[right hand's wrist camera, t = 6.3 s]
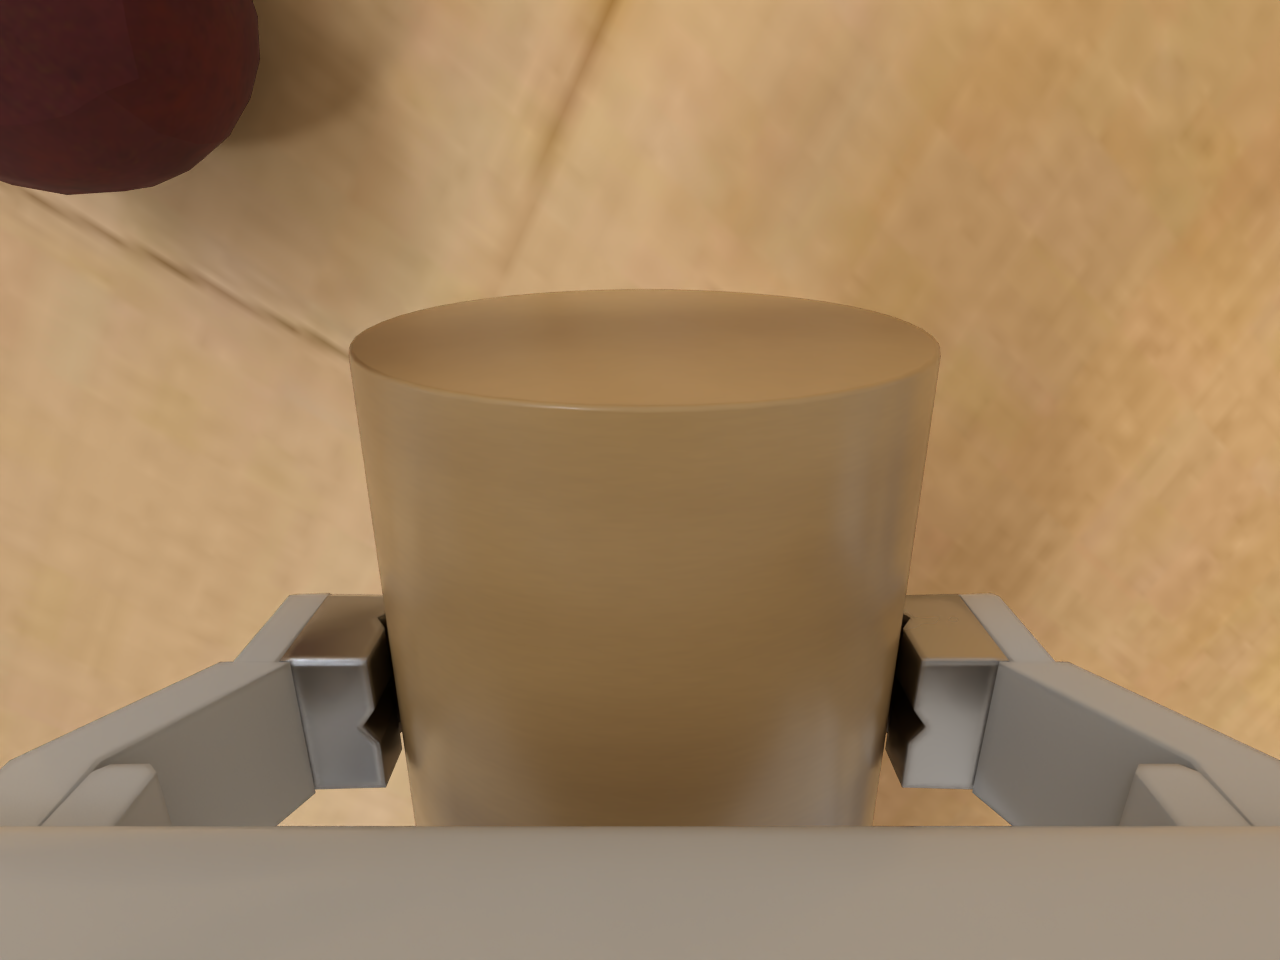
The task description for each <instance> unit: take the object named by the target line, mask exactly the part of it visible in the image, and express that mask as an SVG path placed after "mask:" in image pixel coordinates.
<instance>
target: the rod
mask: <svg viewBox="0 0 1280 960" xmlns="http://www.w3.org/2000/svg"><path fill="white" fill-rule="evenodd" d="M940 357H941V355H940V346H939V344H938V342H937V341H936V340H935V338H934V337H933V336H932V335H930V334H929V333H927V332H926V331H924V330H923V329H921V328H919V327H917V326H915V325H912V324H910V323H908V322H906V321H903V320H900V319H897V318H894V317H892V316H888V315H885V314H881V313H877V312H874V311H870V310H865V309H861V308H856V307H852V306H847V305H841V304H835V303H829V302H823V301H816V300H809V299H802V298H793V297H784V296H775V295H764V294H753V293H738V292H723V291H702V290H662V289H627V290H587V291H566V292H550V293H536V294H525V295H513V296H504V297H496V298H487V299H480V300H473V301H466V302H459V303H454V304H448V305H442V306H437V307H433V308H428V309H423V310H419V311H415V312H411V313H408V314H404V315H400V316H397V317H395V318H392V319H389V320H386V321H383V322H381V323H379V324H376V325H374V326H372V327H370V328H368V329H366V330H365V331H363V332H362V333H360V334H359V335H357V336H356V337H355V339H354V340H353V341H352V343H351V344H350V347H349V362H350V369H351V376H352V383H353V390H354V397H355V404H356V411H357V418H358V425H359V432H360V439H361V446H362V453H363V460H364V467H365V474H366V481H367V488H368V495H369V502H370V509H371V516H372V523H373V530H374V537H375V544H376V551H377V558H378V565H379V572H380V579H381V586H382V593H383V600H384V607H385V614H386V621H387V628H388V635H389V642H390V649H391V656H392V663H393V670H394V677H395V684H396V691H397V698H398V705H399V712H400V719H401V726H402V733H403V740H404V747H405V754H406V762H407V769H408V776H409V783H410V790H411V797H412V804H413V811H414V818H415V825H416V826H872V824H873V817H874V811H875V804H876V797H877V790H878V783H879V776H880V769H881V762H882V756H883V749H884V742H885V735H886V728H887V721H888V714H889V707H890V701H891V694H892V687H893V680H894V673H895V666H896V659H897V652H898V646H899V639H900V632H901V625H902V618H903V611H904V604H905V597H906V591H907V584H908V577H909V570H910V563H911V556H912V549H913V543H914V536H915V529H916V522H917V515H918V508H919V501H920V494H921V488H922V481H923V474H924V467H925V460H926V453H927V446H928V439H929V433H930V426H931V419H932V412H933V405H934V398H935V391H936V384H937V378H938V371H939V364H940Z"/></svg>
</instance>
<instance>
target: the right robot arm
mask: <svg viewBox="0 0 1280 960" xmlns="http://www.w3.org/2000/svg"><path fill="white" fill-rule="evenodd" d="M401 732H402V726H401V719H400V712H399V705H398V698H397V691H396V684H395V677H394V670H393V663H392V656H391V649H390V642H389V635H388V628H387V621H386V614H385V607H384V600H383V595H363V594H333V595H332V594H330V593H317V594H295V595H289V596H288V597H287V598H286V600H285V601H284V602H283V603H282V604H281V606H280V607H279V608H278V609H277V610H276V611H275V613H274V614H273V615H272V616H271V617H270V619H269V620H268V621H267V622H266V623H265V624H264V626H263V627H262V628H261V629H260V630H259V632H258V633H257V634H256V635H255V636H254V637H253V639H252V640H251V641H250V642H249V643H248V645H247V646H246V647H245V648H244V649H243V651H242V652H241V653H240V654H239V655H238V656H237V658H236V659H235V660H234V661H233V662H219V663H217V664H215V665H213V666H211V667H209V668H206V669H204V670H202V671H200V672H198V673H196V674H194V675H191V676H189V677H187V678H185V679H183V680H181V681H179V682H176V683H174V684H172V685H170V686H168V687H166V688H164V689H162V690H159V691H157V692H155V693H153V694H151V695H149V696H147V697H144V698H142V699H140V700H138V701H136V702H134V703H132V704H129V705H127V706H125V707H123V708H121V709H119V710H117V711H115V712H112V713H110V714H108V715H106V716H104V717H102V718H100V719H97V720H95V721H93V722H91V723H89V724H87V725H85V726H83V727H80V728H78V729H76V730H74V731H72V732H70V733H68V734H65V735H63V736H61V737H59V738H57V739H55V740H53V741H50V742H48V743H46V744H44V745H42V746H40V747H38V748H36V749H33V750H31V751H29V752H27V753H25V754H23V755H21V756H18V757H16V758H14V759H12V760H10V761H9V762H8V763H6V764H5V765H4V766H3V767H2V768H1V769H0V960H1280V760H1278V759H1276V758H1274V757H1272V756H1269V755H1267V754H1265V753H1263V752H1261V751H1259V750H1256V749H1254V748H1252V747H1250V746H1248V745H1246V744H1244V743H1241V742H1239V741H1237V740H1235V739H1233V738H1231V737H1229V736H1226V735H1224V734H1222V733H1220V732H1218V731H1216V730H1213V729H1211V728H1209V727H1207V726H1205V725H1203V724H1201V723H1198V722H1196V721H1194V720H1192V719H1190V718H1188V717H1186V716H1183V715H1181V714H1179V713H1177V712H1175V711H1173V710H1170V709H1168V708H1166V707H1164V706H1162V705H1160V704H1158V703H1155V702H1153V701H1151V700H1149V699H1147V698H1145V697H1143V696H1140V695H1138V694H1136V693H1134V692H1132V691H1130V690H1127V689H1125V688H1123V687H1121V686H1119V685H1117V684H1115V683H1112V682H1110V681H1108V680H1106V679H1104V678H1102V677H1100V676H1097V675H1095V674H1093V673H1091V672H1089V671H1087V670H1084V669H1082V668H1080V667H1078V666H1076V665H1074V664H1072V663H1069V662H1055V661H1054V659H1053V658H1052V657H1051V656H1050V655H1049V654H1048V652H1047V651H1046V650H1045V649H1044V648H1043V647H1042V646H1041V644H1040V643H1039V642H1038V641H1037V640H1036V639H1035V637H1034V636H1033V635H1032V634H1031V633H1030V632H1029V630H1028V629H1027V628H1026V627H1025V626H1024V625H1023V623H1022V622H1021V621H1020V620H1019V619H1018V618H1017V617H1016V615H1015V614H1014V613H1013V612H1012V611H1011V610H1010V608H1009V607H1008V606H1007V605H1006V604H1005V603H1004V601H1003V600H1002V599H1001V598H1000V597H999V596H997V595H994V594H992V593H979V594H940V595H906V597H905V604H904V611H903V618H902V625H901V632H900V639H899V646H898V652H897V659H896V666H895V673H894V680H893V687H892V694H891V701H890V707H889V714H888V721H887V728H886V733H888V734H887V741H886V748H885V749H886V751H887V754H888V756H889V758H890V761H891V763H892V765H893V767H894V770H895V772H896V774H897V777H898V779H899V781H900V783H901V786H902V787H907V788H943V789H973V791H972V793H974V794H975V795H976V796H977V797H978V798H980V799H981V800H982V801H983V802H984V803H986V804H987V805H988V806H989V807H990V808H992V809H993V810H994V811H995V812H996V813H998V814H999V815H1000V816H1001V817H1002V818H1003V819H1005V820H1006V821H1007V822H1008V823H1009V824H1011V825H1012V826H277V825H278V824H279V823H280V822H282V821H283V820H284V819H285V818H286V817H287V816H289V815H290V814H291V813H292V812H293V811H295V810H296V809H297V808H298V807H299V806H301V805H302V804H303V803H304V802H305V801H306V800H308V799H309V798H310V797H311V796H312V795H314V794H315V789H343V788H379V787H386V786H387V783H388V781H389V779H390V776H391V774H392V771H393V769H394V767H395V764H396V762H397V760H398V757H399V755H400V753H401V750H402V745H401V737H400V733H401Z"/></svg>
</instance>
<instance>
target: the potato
mask: <svg viewBox="0 0 1280 960" xmlns="http://www.w3.org/2000/svg"><path fill="white" fill-rule="evenodd" d="M259 60H260V53H259V34H258V16H257V13H256V10H255V7H254V4H253V1H252V0H0V181H2V182H5V183H8V184H11V185H16V186H21V187H27V188H32V189H38V190H43V191H49V192H54V193H60V194H65V195H72V194H88V193H103V192H118V191H128V190H134V189H140V188H146V187H152V186H155V185H157V184H160V183H162V182H164V181H166V180H169V179H171V178H173V177H175V176H178V175H180V174H182V173H184V172H187V171H189V170H190V169H191V168H193V167H194V166H195V165H196V164H198V163H199V162H200V161H201V160H202V159H204V158H205V157H206V156H207V155H208V154H209V153H210V152H211V151H213V150H214V149H215V148H216V147H217V146H218V145H219V144H220V143H222V142H223V141H224V140H225V139H226V138H227V137H228V136H229V135H230V133H231V132H232V130H233V128H234V126H235V124H236V123H237V121H238V119H239V117H240V116H241V114H242V112H243V110H244V109H245V107H246V105H247V103H248V102H249V100H250V98H251V94H252V90H253V85H254V81H255V77H256V73H257V69H258V65H259Z"/></svg>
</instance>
